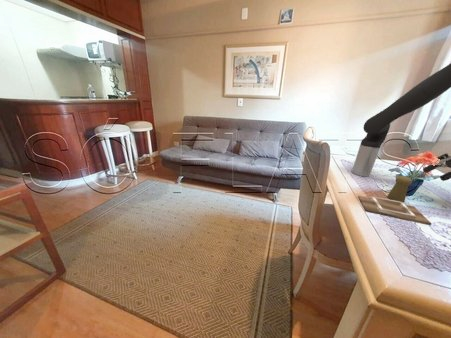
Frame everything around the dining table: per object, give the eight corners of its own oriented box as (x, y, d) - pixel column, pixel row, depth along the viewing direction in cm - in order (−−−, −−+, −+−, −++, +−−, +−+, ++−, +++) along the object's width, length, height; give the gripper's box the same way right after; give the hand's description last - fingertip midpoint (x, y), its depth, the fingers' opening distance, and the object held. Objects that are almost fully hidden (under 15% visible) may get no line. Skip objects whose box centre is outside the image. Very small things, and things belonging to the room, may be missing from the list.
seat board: (357, 197, 84) (359, 193, 83) (413, 208, 77) (415, 204, 77) (365, 211, 73) (367, 207, 73) (430, 225, 67) (433, 220, 66)
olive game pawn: (407, 203, 81) (418, 180, 76) (392, 201, 82) (402, 179, 77) (398, 196, 86) (408, 175, 82) (384, 195, 87) (393, 173, 83)
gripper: (458, 140, 77) (415, 162, 83) (497, 148, 64) (442, 174, 70) (467, 153, 78) (423, 174, 84) (507, 164, 65) (452, 189, 71)
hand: (432, 174), depth 77 cm, fingers open, 8 cm apart
